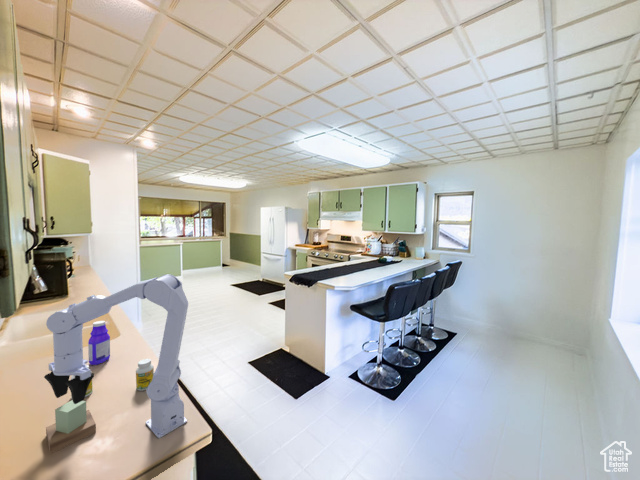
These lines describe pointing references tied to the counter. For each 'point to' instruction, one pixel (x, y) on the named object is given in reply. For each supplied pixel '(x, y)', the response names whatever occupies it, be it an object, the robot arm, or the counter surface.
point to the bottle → (99, 344)
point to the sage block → (70, 416)
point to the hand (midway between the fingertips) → (70, 398)
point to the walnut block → (63, 439)
